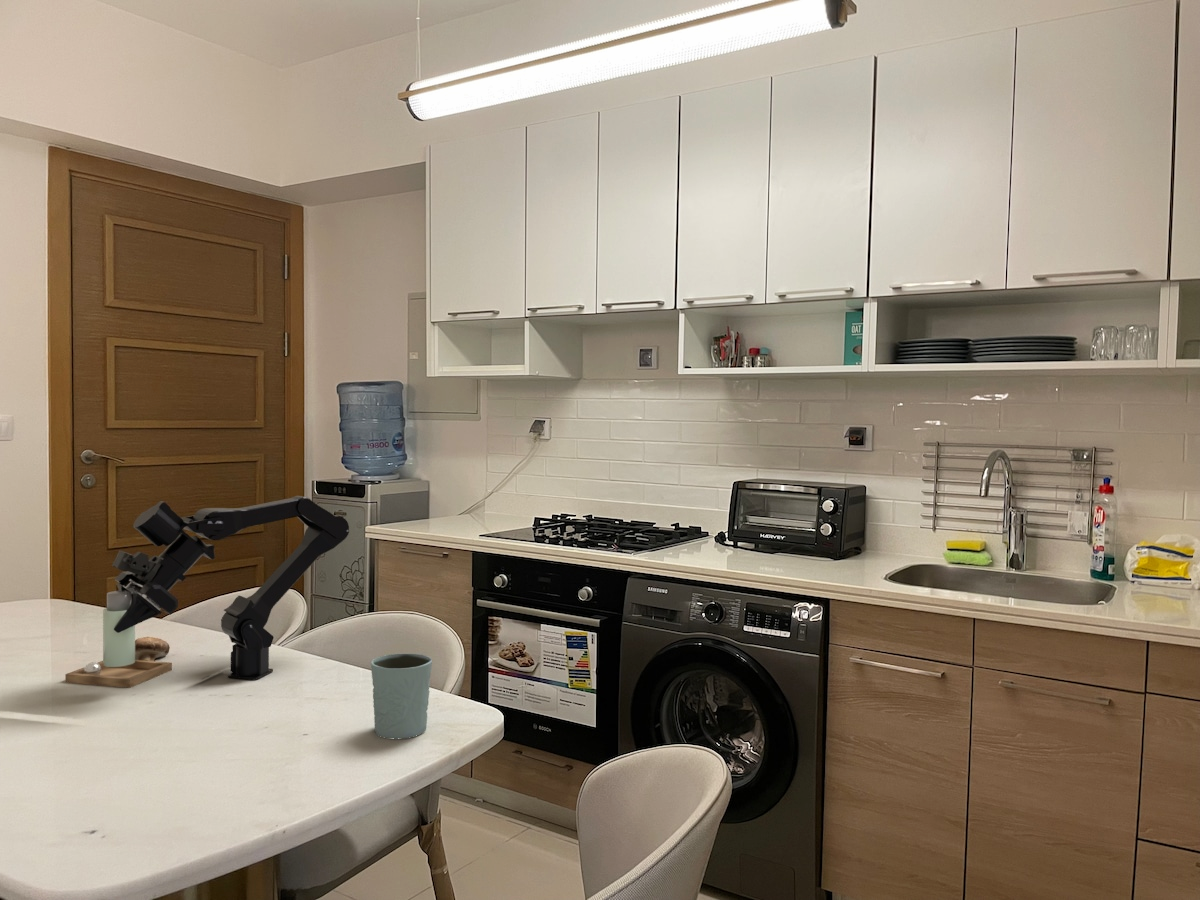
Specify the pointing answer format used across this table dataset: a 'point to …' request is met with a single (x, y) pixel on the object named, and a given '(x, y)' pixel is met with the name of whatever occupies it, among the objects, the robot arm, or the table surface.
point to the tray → (121, 674)
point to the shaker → (116, 644)
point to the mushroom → (150, 648)
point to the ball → (93, 669)
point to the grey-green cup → (401, 694)
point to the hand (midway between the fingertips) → (110, 628)
